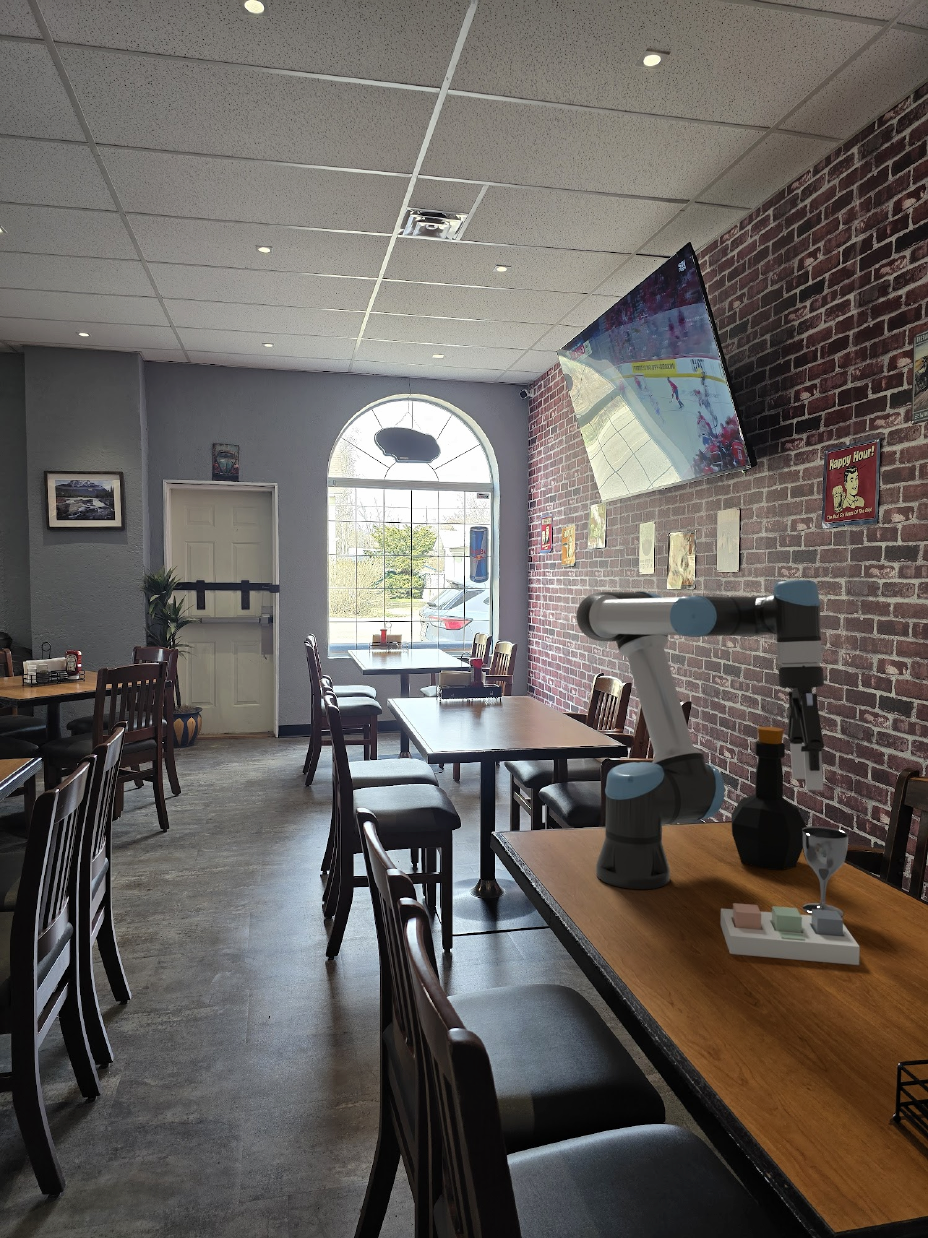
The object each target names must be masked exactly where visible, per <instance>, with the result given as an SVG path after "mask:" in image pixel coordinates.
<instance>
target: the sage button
mask: <svg viewBox="0 0 928 1238" xmlns="http://www.w3.org/2000/svg"><path fill="white" fill-rule="evenodd" d="M771 912H772V926H773V928H774V930H775V931H782V932H795V933H801V931H802V916H801V915H802V914H801V913H800V912H799V909H798V908H797V907H787V906H775V905H774V906H773V905H772V907H771Z"/></svg>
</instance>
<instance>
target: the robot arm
mask: <svg viewBox="0 0 928 1238" xmlns="http://www.w3.org/2000/svg"><path fill="white" fill-rule="evenodd" d="M818 588H819V587H818V584H817V583H816V581H814V580H811V579H792V580H783V581H778V582H776V583H775V584H774V586H773V593H772V594H770V595H758V596H714V595H713V596H711V595H710V596H709V595H705V596H704V595H688V596H670V597H668V596H667V597H662V596H660V595H659V594H657V593H652V592H646V591H634V592H633V591H630V592H627V591H626V592H625V591H624V592H623V591H620V592H619V591H598V592H595V593H592V594H589V595H588V596H585V598H583V600H582V601H581V602H580V603H579V606H578V607H577V610H576V615H575V616H576V622H577V625H578V628H579V630H580V631H581V632H582V634H584V635H585V636H586V637H587V638H588V639H591V640H594V641H597V642H609V643H610V642H615V643H616V644H617V645H616V646H617V649H618V652H619V654H620V655H621V656H623V657H624V658H627V661H628V663H629V668H630V673H631V675H632V678H633V682H634V685H635V689H636V692H637V696H638V700H639V704H640V708H641V710H642V714H643V717H644V721H645V724H646V729H647V733H648V736H649V739H650V742H651V745H652V750H653V754H654V759H653V761H652V762H651V761H650V762H647V761H639V762H636V761H635V762H634V761H633V762H626V763H622V764H619V765H616V766H615V767H612V768H611V769H610V770H609V771H608V773H607V776H606V784H605V785H606V786H605V788H604V792H605V831H604V832H605V834H604V835H605V836H604V837H605V838H604V842H603V845H602V847H601V849H600V854H599V855H598V859H597V861H596V868H595V869H596V871H595V872H596V873H595V876H596V877H597V878H598V879H599V880H600V879H601V880H600V881H601V882H604V883H606V884H609V885H611V886H614V887H618V888H623V889H624V888H625V889H632V890H652V889H657V888H661V887H664V886H666V885H667V884H669V883H670V880H671V879H670V877H671V874H670V873H671V872H670V866H669V863H668V859H667V855H666V853H665V849H664V845H663V842H662V841H663V838H662V837H663V826H664V825H665V826H666V825H672V824H673V825H674V824H679V823H687V822H699V821H701V820H705V819H710V818H712V817H714V816H715V815H716V814H718V813H719V811H720V809H721V807H722V803H724V799H725V783H724V779H723V776H722V774H721V772H720V771H719V769H717V768H716V766H714V765H712V764H710V763H706V760H705V756H704V754H703V752H702V751H701V750H699V749H698V748H695V746H694V744H693V741H692V738H691V735H690V731H689V727H688V724H687V721H686V718H685V714H684V711H683V708H682V707H683V706H682V704H681V701H680V698H679V697H680V696H679V695H678V689H677V687H676V684H675V681H674V679H673V678H674V677H673V673H672V670H671V667H670V665H669V660H668V658H667V654H666V651H665V647H666V646H667V644H668V643H669V637H668V636H681V637H688V638H703V637H742V638H754V637H757V636H769V635H775V636H776V654H777V656H776V657H777V664H778V665H781V667H779V669H777V670H778V683H779V684H778V685H779V686H780V688H782V689H792V690H791V691H788V693H787V696H788V718H787V723H788V725H787V735H786V736H787V739H789V744H790V746H789V747H790V762H791V763H790V764H791V765H790V766H791V779H792V780H805V790H806V791H824V775H823V758H822V751H823V750H824V748H825V743H824V739H823V733H822V726H821V725H822V724H821V720H820V719H821V718H820V713H819V707H818V706H819V705H818V695H817V693H816V692H815V693H813V691H812V688H821V687H822V688H823V686H824V685H825V678H824V677H825V676H824V668H823V667H822V666H820V664H822V663H823V652H825V651H826V647H825V646H822V631H821V630H822V629H821V601H820V595H819V589H818Z"/></svg>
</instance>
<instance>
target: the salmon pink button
mask: <svg viewBox="0 0 928 1238" xmlns="http://www.w3.org/2000/svg"><path fill="white" fill-rule="evenodd" d="M732 909H733V923H734V926H735V928H746V929H758V930H761V912H762V911H760V908H759V906H758V904H750V903H749V904H748V903H746V904H745V903H736V902H735V903H732Z"/></svg>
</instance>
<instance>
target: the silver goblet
mask: <svg viewBox="0 0 928 1238" xmlns="http://www.w3.org/2000/svg"><path fill="white" fill-rule="evenodd" d="M848 843H849V834H848V833H847V832H846V831H844V830H841V829H837V828H834V827H828V826H818V825H817V826H816V825H815V826H814V825H812V826H807V827H805V828H803V829H802V847H803V849H802V851H803V857H804V859H805V861H806V863H807V864H808V865H809V867H810V868H811V869H812V870H813V872H814V874H816V877H817V878H818V880H819V887H820V902H819V903H816V902H814V903H813V902H812V903H810V902H809V903H805V904H804V905H803V906H802V910H803V911H804V912H805V913H807V914H808V915H811V916H812V909H815V910H828V911H837V912H838V914H839V915H840V917H841V918H842V917H843V916H844V912H843V910H841V909H840V908H838V907H835V906H833V905H830V904H826V903H827V902H826V893H827V885H828V883H829V881H830V878H831V877H832V876H833V875H834V874H835V873H836V872H837V871H838V870H839V869H840V868H841V867H842V866H843V865H844V863H845V860H846V856H847V852H848Z"/></svg>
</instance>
